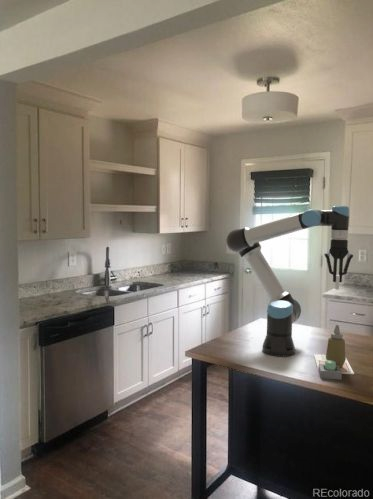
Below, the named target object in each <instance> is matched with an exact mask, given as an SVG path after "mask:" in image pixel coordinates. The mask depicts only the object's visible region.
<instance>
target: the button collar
mask: <svg viewBox="0 0 373 499" xmlns="http://www.w3.org/2000/svg"><path fill="white" fill-rule="evenodd" d="M324 369H325V364H319V368H317V370H319V371H318V374H319V377H320V379H328V380H329V379H330V380H340V381H342V379H343V377H342V376H343V374H342V372H341V369H340V367H339V365H336V368H335V371H334V370H324Z"/></svg>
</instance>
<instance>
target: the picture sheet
mask: <svg viewBox="0 0 373 499" xmlns="http://www.w3.org/2000/svg"><path fill="white" fill-rule="evenodd" d="M313 358H314V361H315V364H316V368H317V370H318V368H319V364H325V361H326V360H327V359H326V354H316V353H314V354H313ZM340 369H341V372H342V375H355V372H354V371H353V368H352V367H351V365H350V363H349V361H348V359H347V358H346V360H345V362H344V365H343V367H342V368H340ZM318 372H319V370H318Z"/></svg>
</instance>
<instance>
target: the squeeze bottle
mask: <svg viewBox="0 0 373 499" xmlns="http://www.w3.org/2000/svg"><path fill="white" fill-rule="evenodd" d="M334 327H335V328H334V330H333V331H332V332H330V337H329V338H328V341H327V347H326V354H325V355H326V359H327V360H331V361H334V362H336V365H339V367H340V368H342V367H343V365H344V362H345V360H346V359H347V357H346V356H347V355H346V343H345V338H343V334H344V333H342V332H341V330H340V325H339V324H335V326H334Z"/></svg>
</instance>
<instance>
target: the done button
mask: <svg viewBox="0 0 373 499" xmlns="http://www.w3.org/2000/svg"><path fill="white" fill-rule="evenodd" d="M335 368H336V362H334V361H331V360H326V361H325V369H324V370H334V371H335Z"/></svg>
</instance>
